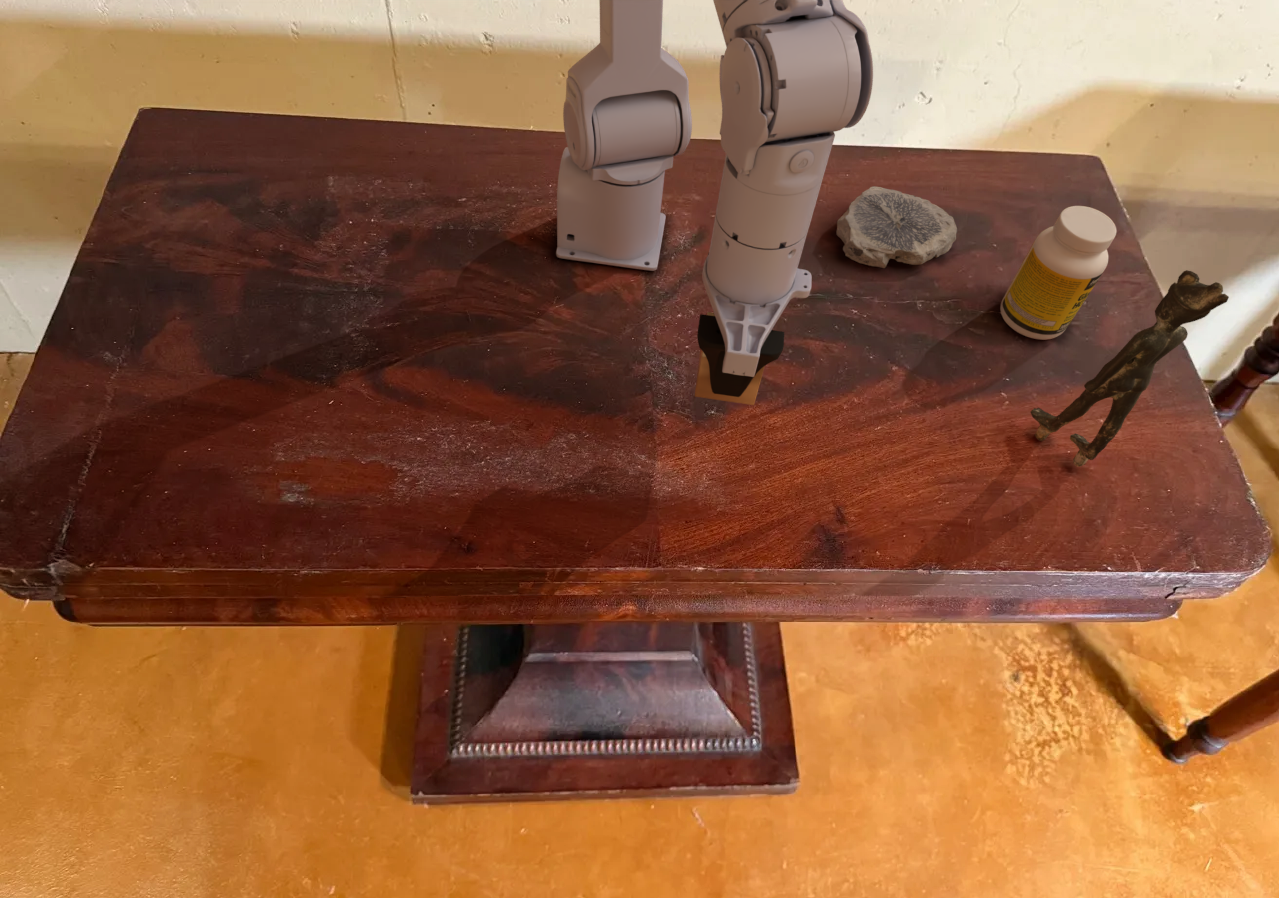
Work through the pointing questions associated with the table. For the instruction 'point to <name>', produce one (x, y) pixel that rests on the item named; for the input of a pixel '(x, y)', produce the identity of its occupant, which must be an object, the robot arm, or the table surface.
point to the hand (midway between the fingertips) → (729, 366)
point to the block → (705, 391)
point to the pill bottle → (1058, 273)
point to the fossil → (894, 228)
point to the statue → (1134, 364)
